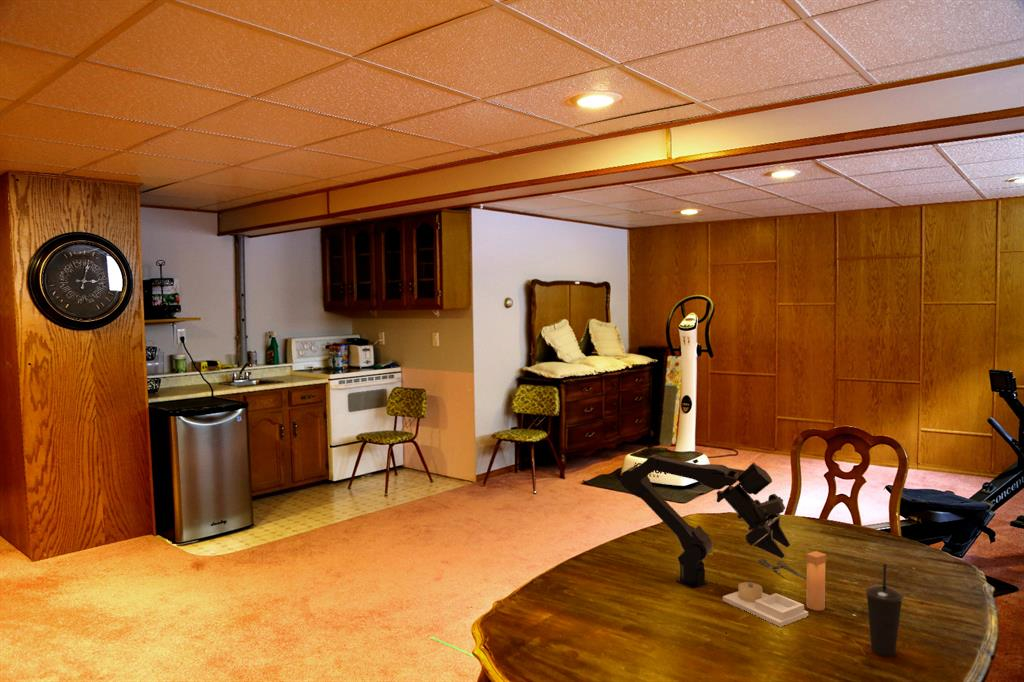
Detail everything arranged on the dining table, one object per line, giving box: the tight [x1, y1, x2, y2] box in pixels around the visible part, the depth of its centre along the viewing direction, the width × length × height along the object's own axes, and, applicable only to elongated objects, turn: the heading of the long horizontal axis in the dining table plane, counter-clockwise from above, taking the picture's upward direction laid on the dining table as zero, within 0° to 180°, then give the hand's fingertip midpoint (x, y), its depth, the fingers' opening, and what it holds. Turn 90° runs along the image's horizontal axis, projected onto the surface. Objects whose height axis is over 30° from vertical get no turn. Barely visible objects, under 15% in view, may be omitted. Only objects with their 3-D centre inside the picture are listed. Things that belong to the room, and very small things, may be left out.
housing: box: [722, 581, 809, 628], centre depth 181 cm, size 18×11×5 cm, turn 32°
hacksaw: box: [758, 558, 837, 590], centre depth 204 cm, size 24×10×2 cm, turn 14°
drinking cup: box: [865, 564, 904, 657], centre depth 159 cm, size 8×8×20 cm
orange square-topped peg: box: [805, 550, 827, 611], centre depth 182 cm, size 4×4×14 cm
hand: (786, 551), depth 185 cm, fingers open, 9 cm apart
